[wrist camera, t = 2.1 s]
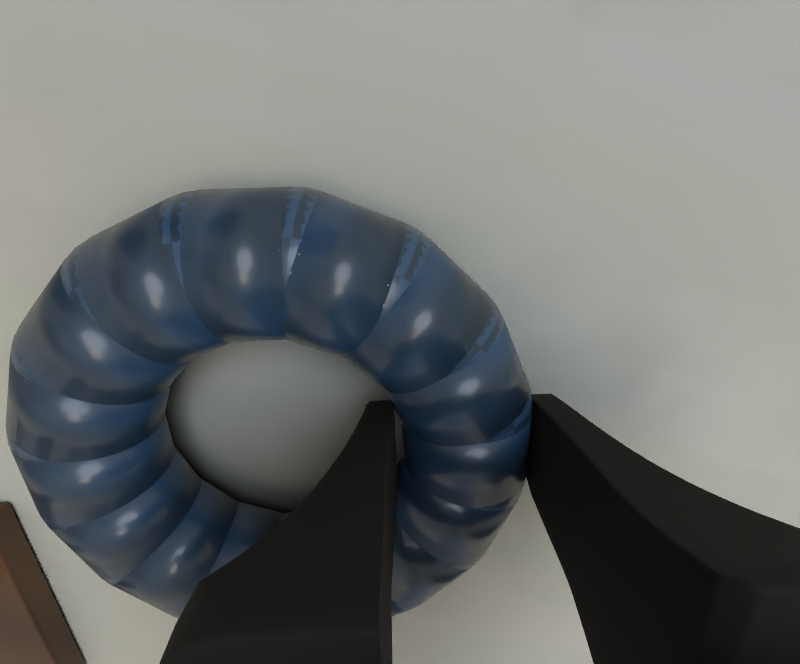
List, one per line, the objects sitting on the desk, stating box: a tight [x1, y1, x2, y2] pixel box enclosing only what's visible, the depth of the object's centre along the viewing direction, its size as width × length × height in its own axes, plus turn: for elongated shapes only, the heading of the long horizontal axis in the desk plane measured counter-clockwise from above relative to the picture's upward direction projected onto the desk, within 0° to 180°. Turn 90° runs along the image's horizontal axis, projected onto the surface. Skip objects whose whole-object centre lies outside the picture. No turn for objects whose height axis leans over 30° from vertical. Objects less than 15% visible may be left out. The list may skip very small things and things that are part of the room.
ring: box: [6, 187, 533, 618], centre depth 12 cm, size 12×12×3 cm
